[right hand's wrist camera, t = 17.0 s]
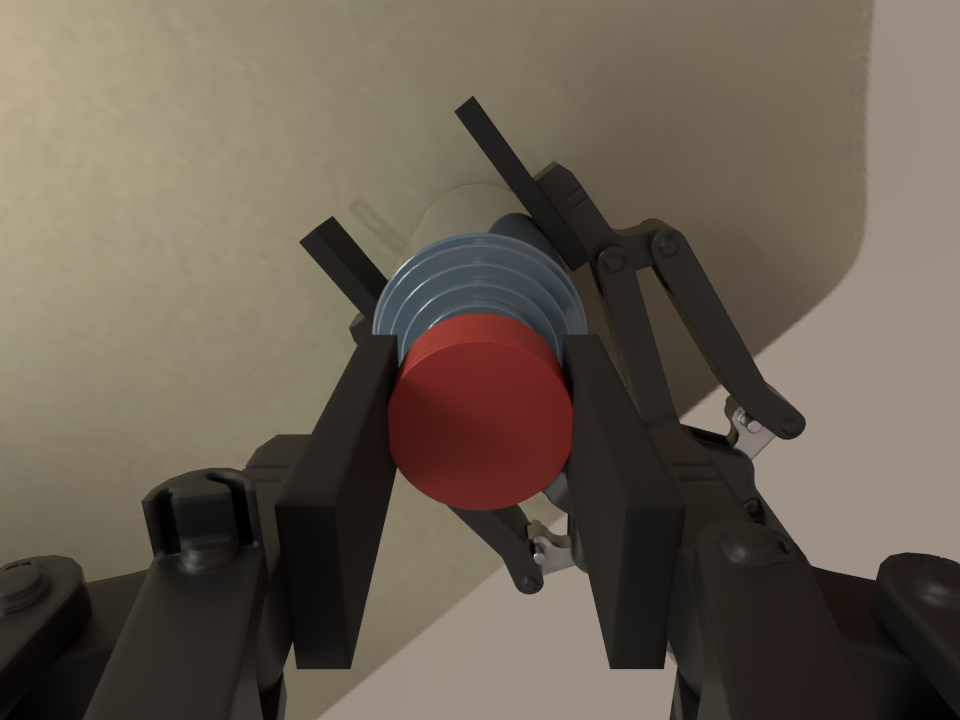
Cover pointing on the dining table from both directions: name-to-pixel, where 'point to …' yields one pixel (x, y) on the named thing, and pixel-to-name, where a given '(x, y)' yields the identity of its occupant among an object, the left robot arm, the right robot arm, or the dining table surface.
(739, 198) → the dining table surface
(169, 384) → the dining table surface
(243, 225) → the dining table surface
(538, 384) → the cap
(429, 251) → the bottle
